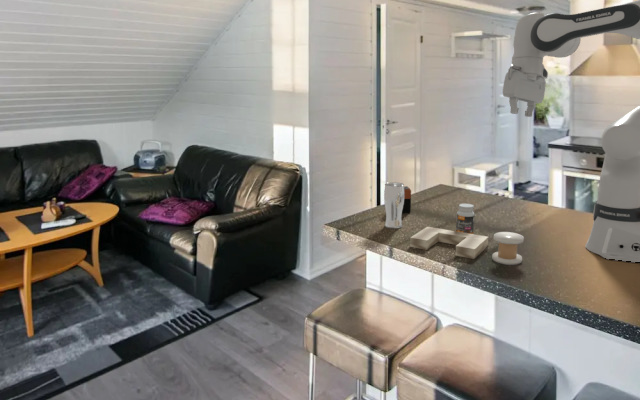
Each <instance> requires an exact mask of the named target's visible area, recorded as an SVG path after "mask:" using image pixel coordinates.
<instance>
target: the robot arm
mask: <svg viewBox="0 0 640 400" xmlns="http://www.w3.org/2000/svg"><path fill="white" fill-rule="evenodd" d="M602 34H620V35H623V36H628V37H630V38H633V39H636V40H640V0H633V1H630V2H626V3H622V4H619V5H613V6H608V7H603V8H598V9H594V10H593V9H592V10H588V11H584V12H579V13H575V14H573V13H572V14H563V13H558V12H554V13H553V12H551V13H547V14H545V13H543V12H532V13H528V14H525V15H523V16H522V17H520V18H519V20H518V21H517V23H516V26H515V31H514V36H513V45H512V46H513V55H512V57H511V63H510V64H511V65H510V67H509V68H508V70H507V72H506V73H505V76H504V80H503V86H502V95H503V97H505V98H509V100H508V101H509V107H510V114H512V115H517V114H518V113H519V109H520V108H519V107H518V102H519V101H521V102H525V103H526V106H527V107H526V110H525V111H524V117H526V118H532V117H533V113H534V110H535V108H536V104H542V102H543V101H544V98H545V92H546V86H547V85H546V81H547V80H546V79H548V76H549V72H548V70H547V69H546V68H545V66H544V63H543V62H544V57H550V58H551V57H554V58H566V57H567V58H568V57H569V56H571V55H573V54H574V53H575V52H576V51H577V49H578V48H579V46H580V43H581V38H586V37H592V36H598V35H602ZM600 142H601V148H602V150H603V151H604V154H605V155H604V158H603V162H602V163H603V164H602V168H601V171H600V176H599V182H598V184H599V185H598V192H597V199H596V201H595V202H594V208H593V216H592V217H593V219H592V220H593V224H592V227H591V231H590V235H589V237H588V239H587V242H586V243H585V248H586V250H588V251H590V252H591V253H594V254H597V255H599V256H601V257H602V258H604V259H605V258H606V260H609V259H615V260H614V261H618V260H622V261H621V262H626V261H631V262H630V263H635V262H640V105H638V106H637V107H636V108H634V109H633V110H631V111H629V112H628V113H626V114H625V115H622V116H621V117H620V118H619V119H616V120H615V121H613V122H612V123H610V124H609V125H607V127H606V128H605V129H604V131H603V132H602V135H601V139H600Z"/></svg>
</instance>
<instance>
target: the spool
mask: <svg viewBox="0 0 640 400" xmlns="http://www.w3.org/2000/svg"><path fill="white" fill-rule="evenodd" d="M493 240H494V241H495V242H497V243H498V247H497V249H498V250H497V251H496V252H493V253H492V255H491V256H492V257H491V259H492V260H493V262H495V263H498V264H502V265H506V266H508V265H509V266H515V265H519V264H522V262H523V256H522V255H520V254H518V246H519V245H520V244H523V243H524V241H525V237H524V236H523V235H522V234H519V233H517V232H512V231H511V232H510V231H499V232H495V233H494V234H493Z"/></svg>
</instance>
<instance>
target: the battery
mask: <svg viewBox="0 0 640 400" xmlns="http://www.w3.org/2000/svg"><path fill="white" fill-rule="evenodd" d="M411 203H412V190H411V188H410V187H409V186H407V185H404V205H403V210H402V214H409V213H411V212H412V211H411V207H412V204H411Z"/></svg>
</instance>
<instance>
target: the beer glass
mask: <svg viewBox="0 0 640 400" xmlns="http://www.w3.org/2000/svg"><path fill="white" fill-rule="evenodd" d="M404 187H405V184H404V183H403V182H398V181H397V182H395V181H394V182H386V183H385V184H384V190H383V191H384V192H383V201H384V208H385V222H384V223H385V224H384V227H385V228H386V229H396V230H397V229H401V228H403V221H402V217H403V216H402V215H403V213H402V210H403V205H404Z"/></svg>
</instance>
